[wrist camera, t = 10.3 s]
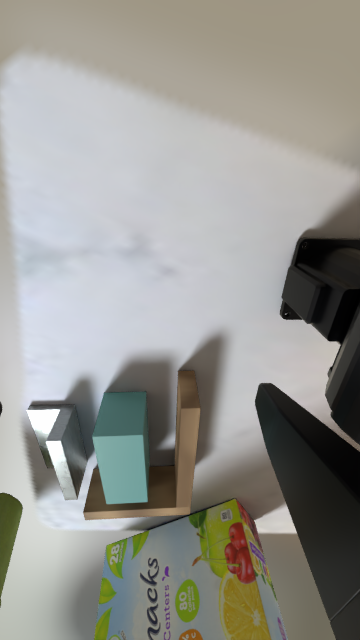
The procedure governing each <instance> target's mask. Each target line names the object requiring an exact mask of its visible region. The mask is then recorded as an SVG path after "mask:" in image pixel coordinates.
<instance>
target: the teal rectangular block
mask: <svg viewBox="0 0 360 640" xmlns="http://www.w3.org/2000/svg"><path fill="white" fill-rule="evenodd" d="M92 439H93V444H94V448H95V453H96V458H97V462H98V467H99V471H100V476H101V481H102V485H103V490H104V495H105V499H106V504H121V503H139V502H148V482H149V460H150V453H149V435H148V417H147V399H146V391H144V392H110V393H104V395H103V399H102V402H101V406H100V410H99V413H98V417H97V421H96V424H95V428H94V432H93V435H92Z"/></svg>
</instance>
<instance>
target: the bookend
mask: <svg viewBox="0 0 360 640" xmlns="http://www.w3.org/2000/svg"><path fill="white" fill-rule="evenodd" d="M27 412H28V415H29V418H30V420H31V423H32V426H33V429H34V432H35V435H36V437H37V440H38V443H39V446H40V449H41V452H42V455H43V457H44V460H45V463H46V466H47V468H55V471H56V474H57V477H58V480H59V483H60V486H61V489H62V492H63V495H64V499H65V500H77V499H78V495H79V491H80V487H81V483H82V480H83V476H84V472H85V468H86V464H87V458H86V453H85V449H84V444H83V440H82V435H81V431H80V427H79V422H78V418H77V413H76V409H75V405H33V406H29V408H28V410H27Z"/></svg>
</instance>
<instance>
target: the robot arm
mask: <svg viewBox="0 0 360 640" xmlns="http://www.w3.org/2000/svg"><path fill="white" fill-rule="evenodd" d="M305 242H306V243H307V245H306V247H304V248H302V245H303V244H304V243H305ZM282 299H283V301H282V305H281V309H280V315H281V317H282V318H283V319H286V320H304V321H305V322H306V323H307V324H311V325H312V326H314V327H315V328H316V329H317V330H318V331H319V332H320V333H321V334H322V335H323V336H324V337H325V338H326V339H327V340H328V341H337V342H338V343H339V344H340V345H341V346H340V348H339V351H338V353H337V356H336V358H335V361H334V363H333V366H332V367H330V369H329V371H328V377H329V380H328V382H327V385H326V393H325V396H326V398H327V401H328V404H329V406H330V409H331V410H332V412H331V417H332V419H333V420H334V421H335V422H336V423H337V425H338V426H339V427H340V428H341V429H342V430H343V431H344V432H345V433H346V434H347V435H348V436H349V437H351V438H352V439H353V440H354V441H355V442H356V443H358V444H359V445H360V239H348V238H301V239H300V240H299V241H298V242H297V244H296V248H295V252H294V256H293V261H292V265H291V266H290V267H289V269H288V273H287V277H286V281H285V285H284V289H283V293H282ZM288 311H289V312H288ZM286 312H288V314H286V315H285V313H286ZM255 406H256V410H257V414H258V418H259V422H260V426H261V430H262V434H263V438H264V442H265V446H266V449H267V452H268V455H269V458H270V460H271V463H272V466H273V468H274V471H275V474H276V477H277V479H278V482H279V485H280V488H281V490H282V493H283V496H284V498H285V501H286V504H287V507H288V509H289V512H290V515H291V517H292V520H293V523H294V526H295V528H296V531H297V534H298V537H299V539H300V542H301V545H302V547H303V550H304V553H305V556H306V558H307V561H308V564H309V567H310V569H311V572H312V575H313V577H314V580H315V583H316V586H317V588H318V591H319V594H320V597H321V599H322V602H323V605H324V607H325V610H326V613H327V616H328V618H329V620H330V621H331V622H330V624H331V627H332V630H333V632H334V635H335V638H336V640H360V452H359V451H358V450H357V449H355V448H354V447H353V446H352V445H350V444H349V443H348V442H346V441H345V440H344V439H343V438H341V437H340V436H339V435H337V434H336V433H335V432H334V431H332V430H331V429H330V428H329V427H327V426H326V425H325V424H323V423H322V422H321V421H320V420H318V419H317V418H316V417H314V416H313V415H312V414H311V413H309V412H308V411H307V410H305V409H304V408H303V407H302V406H300V405H299V404H298V403H297V402H295V401H294V400H293V399H291V398H290V397H289V396H288V395H286V394H285V393H284V392H282V391H281V390H280V389H279V388H277V387H276V386H275V385H273V384H272V383H261V384H260V385H259V387H258V391H257V395H256V399H255ZM1 413H2V404H1V402H0V415H1Z"/></svg>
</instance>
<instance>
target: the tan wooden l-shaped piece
mask: <svg viewBox="0 0 360 640" xmlns="http://www.w3.org/2000/svg"><path fill="white" fill-rule="evenodd" d="M200 409H201V408H200V402H199V396H198V390H197V384H196V378H195V373H194V371H178V387H177V413H176V439H175V465H174V466H156V467H149V482H148V502H139V503H121V504H106V499H105V495H104V490H103V485H102V481H101V476H100V471H99V469H93V473H92V477H91V482H90V486H89V490H88V494H87V499H86V503H85V507H84V511H83V514H84V517H85V520H96V519H114V518H133V517H151V516H169V515H188V514H190V508H191V498H192V488H193V479H194V469H195V459H196V449H197V439H198V429H199V419H200Z"/></svg>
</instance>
